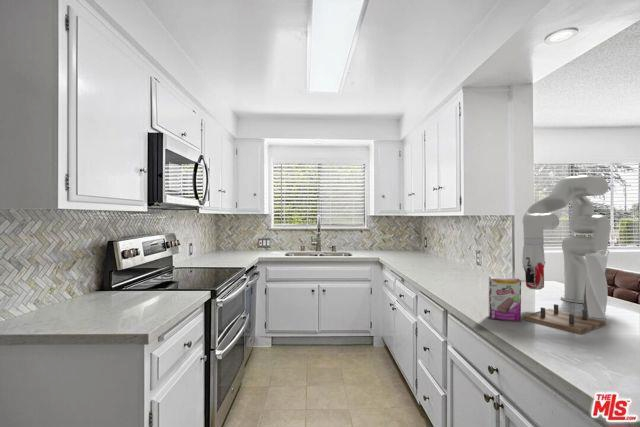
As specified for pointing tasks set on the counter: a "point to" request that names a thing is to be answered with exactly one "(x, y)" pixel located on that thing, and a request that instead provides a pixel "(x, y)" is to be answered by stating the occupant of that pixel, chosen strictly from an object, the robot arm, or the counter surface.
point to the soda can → (537, 277)
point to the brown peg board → (565, 320)
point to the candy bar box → (505, 298)
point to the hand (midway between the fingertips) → (534, 281)
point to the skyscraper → (596, 285)
